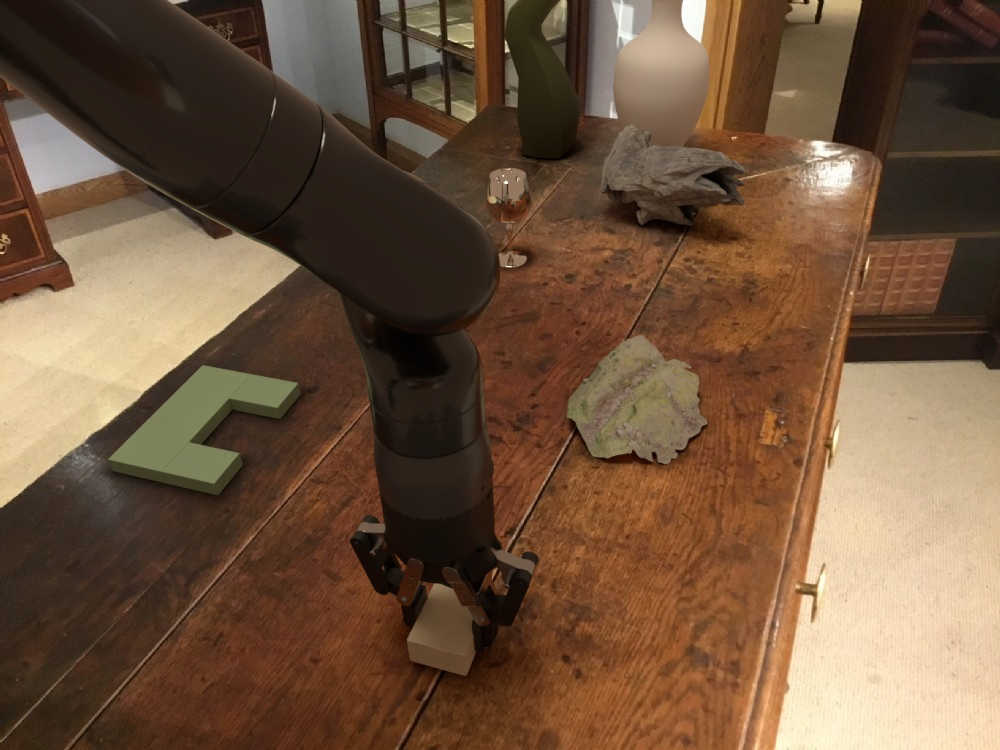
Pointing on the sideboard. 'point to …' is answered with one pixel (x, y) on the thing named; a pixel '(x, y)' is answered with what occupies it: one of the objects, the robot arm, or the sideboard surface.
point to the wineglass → (509, 207)
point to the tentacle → (541, 84)
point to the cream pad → (443, 633)
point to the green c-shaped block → (200, 429)
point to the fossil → (668, 178)
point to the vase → (662, 78)
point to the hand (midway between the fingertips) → (451, 633)
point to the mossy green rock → (637, 404)
